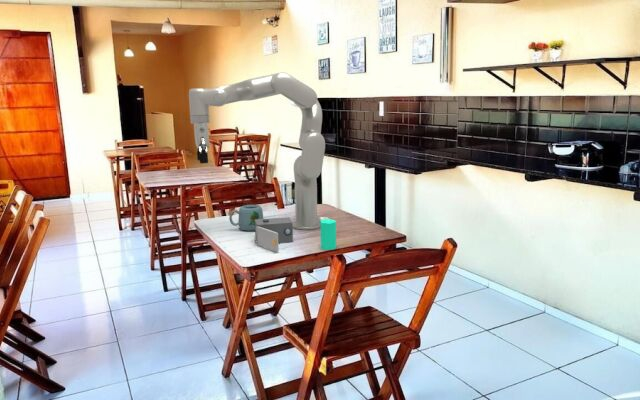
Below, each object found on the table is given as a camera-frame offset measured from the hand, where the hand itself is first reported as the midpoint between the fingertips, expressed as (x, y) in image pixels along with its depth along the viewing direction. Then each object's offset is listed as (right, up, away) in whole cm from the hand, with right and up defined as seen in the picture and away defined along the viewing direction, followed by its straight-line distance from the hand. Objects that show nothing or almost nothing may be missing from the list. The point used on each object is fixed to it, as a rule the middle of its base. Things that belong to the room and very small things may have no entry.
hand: (202, 161), depth 216 cm
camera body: (+30, -32, -4) cm, 44 cm away
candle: (+51, -34, -15) cm, 63 cm away
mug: (+16, -29, +13) cm, 35 cm away
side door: (+28, -34, -16) cm, 47 cm away
